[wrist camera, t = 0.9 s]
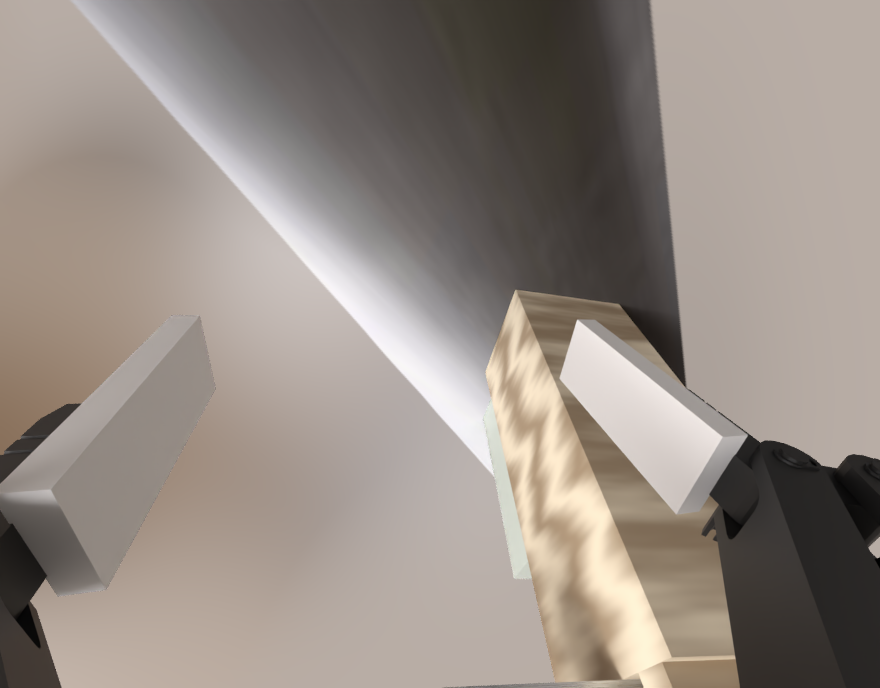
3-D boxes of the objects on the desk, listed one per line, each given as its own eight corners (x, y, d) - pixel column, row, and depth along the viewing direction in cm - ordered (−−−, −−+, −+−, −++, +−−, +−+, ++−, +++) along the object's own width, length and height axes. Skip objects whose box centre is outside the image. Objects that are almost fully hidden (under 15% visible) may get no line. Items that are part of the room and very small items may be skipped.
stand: (515, 289, 39) (700, 725, 14) (618, 304, 41) (941, 708, 16) (485, 372, 46) (571, 755, 21) (574, 381, 48) (748, 741, 23)
